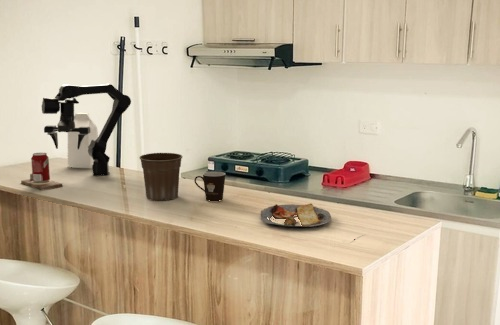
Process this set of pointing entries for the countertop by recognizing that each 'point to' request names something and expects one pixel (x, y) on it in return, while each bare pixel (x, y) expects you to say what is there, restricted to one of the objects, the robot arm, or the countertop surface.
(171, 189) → the plant pot
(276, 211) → the food plate
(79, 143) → the robot arm
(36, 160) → the soda can
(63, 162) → the countertop surface
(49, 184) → the carrier board
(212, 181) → the coffee mug
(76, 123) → the milk
